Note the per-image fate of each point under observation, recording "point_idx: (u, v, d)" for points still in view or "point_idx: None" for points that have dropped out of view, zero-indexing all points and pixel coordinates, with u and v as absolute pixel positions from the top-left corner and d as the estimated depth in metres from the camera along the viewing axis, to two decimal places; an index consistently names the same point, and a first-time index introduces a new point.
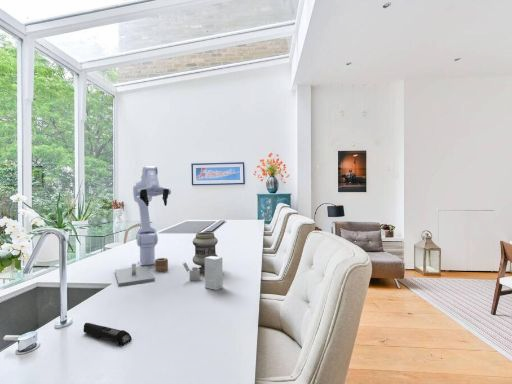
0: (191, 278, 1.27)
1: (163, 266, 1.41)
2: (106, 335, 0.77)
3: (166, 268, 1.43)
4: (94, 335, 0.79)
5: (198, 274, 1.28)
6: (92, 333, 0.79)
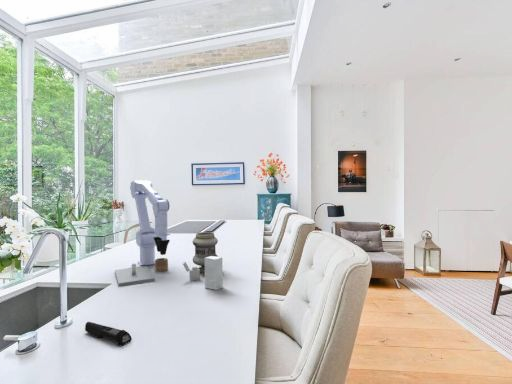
0: (191, 278, 1.27)
1: (163, 266, 1.41)
2: (106, 335, 0.77)
3: (166, 268, 1.43)
4: (95, 334, 0.79)
5: (198, 274, 1.28)
6: (93, 332, 0.80)
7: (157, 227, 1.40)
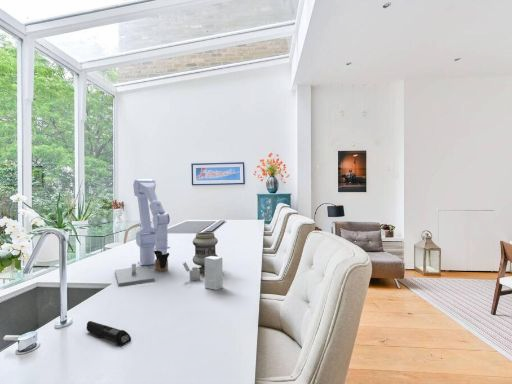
0: (191, 278, 1.27)
1: None
2: (106, 334, 0.78)
3: (166, 268, 1.43)
4: (95, 334, 0.79)
5: (198, 274, 1.28)
6: (94, 332, 0.80)
7: (157, 241, 1.40)
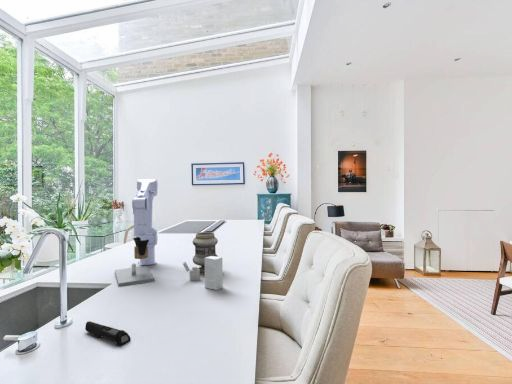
0: (191, 278, 1.27)
1: None
2: (106, 334, 0.77)
3: (146, 256, 1.35)
4: (95, 334, 0.79)
5: (198, 274, 1.28)
6: (93, 332, 0.80)
7: (136, 226, 1.32)
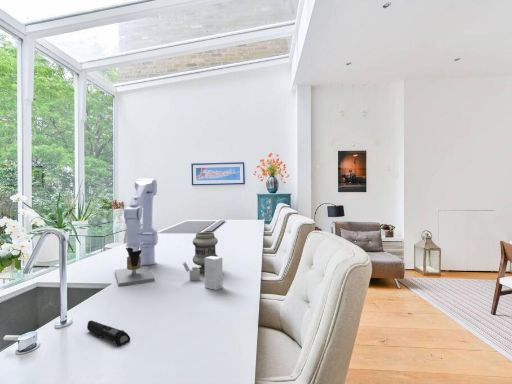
0: (191, 278, 1.27)
1: None
2: (106, 334, 0.78)
3: (139, 266, 1.32)
4: (95, 333, 0.80)
5: (198, 274, 1.28)
6: (94, 331, 0.80)
7: (128, 237, 1.30)
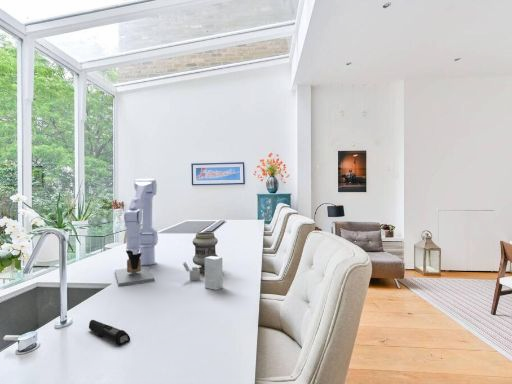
0: (191, 278, 1.27)
1: None
2: (106, 334, 0.78)
3: (139, 269, 1.32)
4: (96, 333, 0.80)
5: (198, 274, 1.28)
6: (95, 331, 0.81)
7: (128, 240, 1.30)
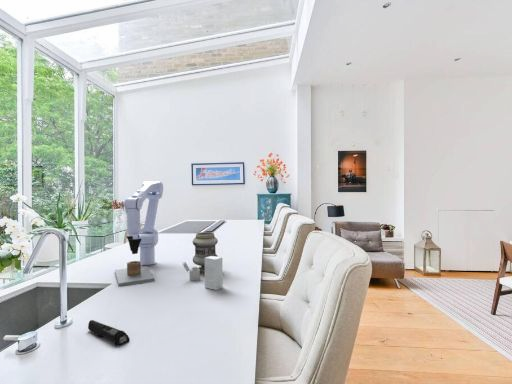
0: (191, 278, 1.27)
1: (135, 270, 1.31)
2: (105, 334, 0.78)
3: (139, 272, 1.32)
4: (96, 333, 0.80)
5: (198, 274, 1.28)
6: (94, 331, 0.80)
7: (129, 226, 1.37)
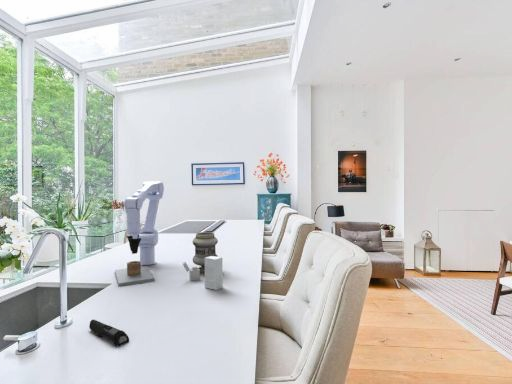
0: (191, 278, 1.27)
1: (135, 270, 1.31)
2: (106, 334, 0.78)
3: (139, 272, 1.32)
4: (96, 333, 0.80)
5: (198, 274, 1.28)
6: (95, 330, 0.81)
7: (129, 225, 1.37)
